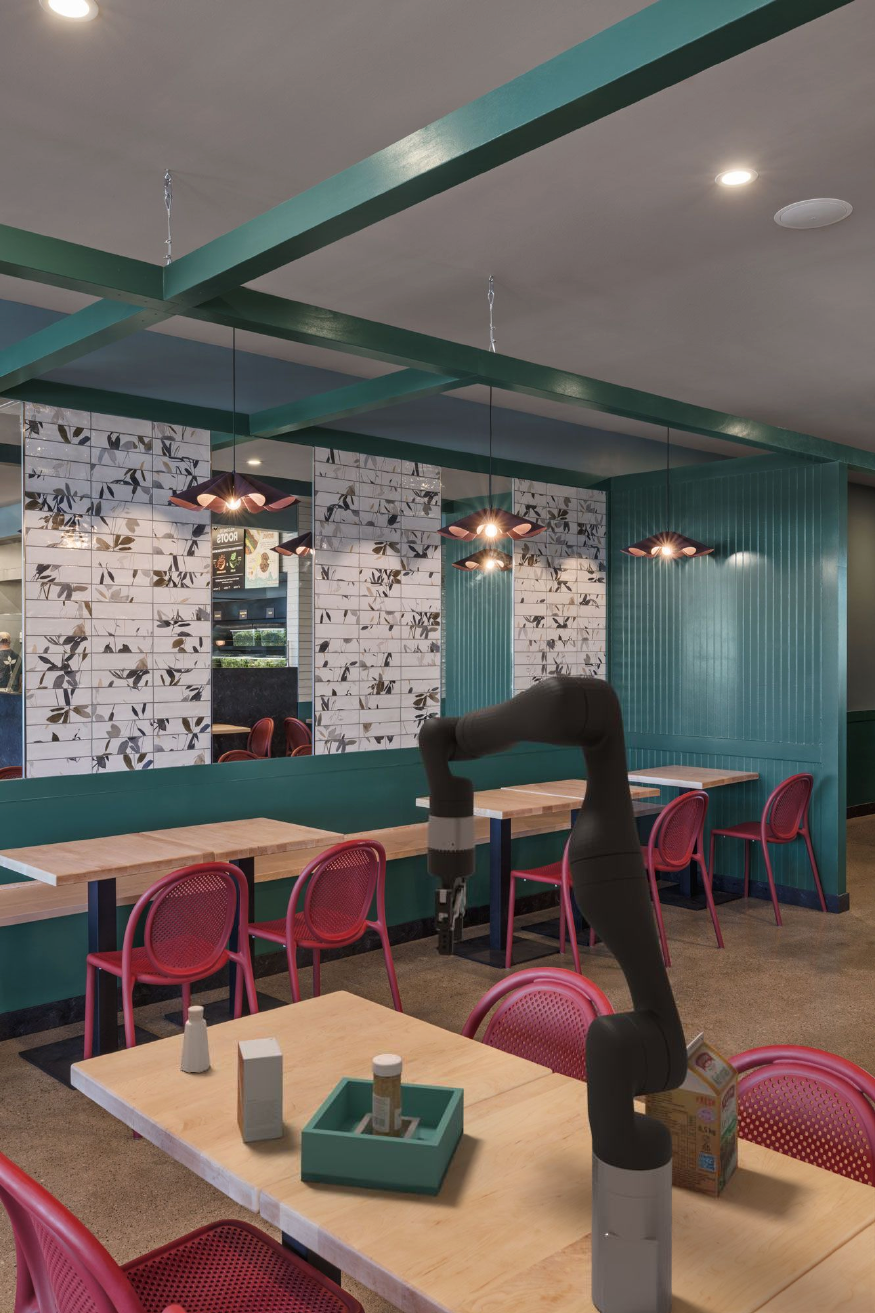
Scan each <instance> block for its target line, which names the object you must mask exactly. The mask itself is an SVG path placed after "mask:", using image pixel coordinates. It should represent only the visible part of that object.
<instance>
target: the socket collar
mask: <svg viewBox="0 0 875 1313" xmlns="http://www.w3.org/2000/svg"><path fill="white" fill-rule="evenodd" d="M354 1133H358V1134H368V1135H373V1113H366V1115H365V1117H364V1118H363V1120H362V1121H361V1123H360V1124H359V1126H358V1127H357V1129H356V1130H355V1132H354ZM420 1136H421V1118H414V1117H404V1116H401V1138H406V1139H415V1140H420Z"/></svg>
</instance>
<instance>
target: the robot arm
mask: <svg viewBox="0 0 875 1313" xmlns="http://www.w3.org/2000/svg"><path fill="white" fill-rule="evenodd" d="M417 739H418V740H417V743H418V749H419V753H420V757H421V761H422V763H423V767H424V768H423V769H424V771H425V776H426V782H427V784H428V790H429V792H428V793H429V794H428V795H429V796H428V797H429V798H428V799H429V801H428V802H429V804H428V806H429V807H428V809H429V810H428V812H429V813H428V814H429V816H428V825H427V844H426V845H427V848H426V849H427V852H426V854H427V862H426V864H427V869H426V870H427V873H428V874H429V875H430V876H431V877H437V878H439V879H440V884H439V886H437V887H436V889H435V890H434V923H433V927H434V929H435V930H437V931H438V932H437V933H438V934H437V935H438V936H437V937H438V938H437V939H438V941H437V944H438V948H437V950H438V954H439V956H452V955H453V953H454V942H461V941H462V940H463V936H464V935H463V934H464V933H463V932H464V927H463V926H464V916H465V913H466V909H467V877H471V876H473V875H474V874H475V873H476V825H475V815H474V814H475V813H474V811H475V810H474V805H475V803H474V802H475V800H474V799H475V798H474V797H475V790H474V789H475V788H474V784H473V781H472V780H471V779H470V778H467V777H464V776H461V775H455V774H453V773H452V771H451V769H450V766H449V763H451V762H467V761H474V760H480V759H482V758H484V757H486V756H490V755H496V754H499V753H504V752H507V751H509V750H512V749H514V748H515V747H516V746H518V745H519V743H521V742H526V743H527V742H529V743H530V742H531V743H536V744H537V743H538V744H547V745H552V746H555V747H563V748H565V747H567V748H568V747H569V748H574V747H575V748H581V750H582V754H583V759H584V767H585V776H586V783H585V784H586V785H585V786H586V787H585V792H584V797H583V801H582V804H581V806H580V809H579V812H578V815H577V817H576V820H575V821H574V825H573V827H572V831H571V834H570V838H569V841H568V845H567V858H568V865H569V871H570V876H571V882H572V889H573V895H574V899H575V903H576V905H577V908H578V910H579V911H580V913H581V915H582V917H583V918H584V920H585V921H586V922H587V923H588V925H589V926H590V928H591V929H592V930H593V931H594V933H595V934H596V935H597V936H598V938H599V939H600V941H601V942H602V943H603V944H604V945H605V947H606V948H607V949H608V951H609V952H610V953H611V954H612V956H613V957H614V959H615V960H616V962H617V963H618V965H619V967H620V968H621V971H622V973H623V975H624V978H625V981H626V983H627V986H628V990H629V994H630V997H631V1000H632V1006H633V1010H631V1011H630V1010H629V1011H623V1012H616V1013H609V1014H604V1015H603V1014H602V1015H600V1016H597V1017H595V1018H594V1019H593V1020H592V1021H591V1022H590V1024H589V1026H588V1029H587V1032H586V1036H585V1037H586V1038H585V1045H584V1046H585V1047H584V1050H585V1053H584V1054H585V1056H584V1058H585V1074H586V1075H585V1077H586V1097H587V1098H586V1100H587V1117H588V1118H587V1119H588V1122H589V1127H590V1134H591V1251H590V1252H591V1254H590V1256H591V1258H590V1259H591V1260H590V1261H591V1278H590V1279H591V1283H590V1286H591V1288H590V1289H591V1293H590V1294H591V1300H592V1303H593V1305H594V1306H595V1307H596V1308H597V1310H598V1311H599V1312H600V1313H670V1312H671V1309H672V1302H673V1301H672V1299H673V1298H672V1295H673V1294H672V1293H673V1290H672V1289H673V1287H672V1285H673V1284H672V1283H673V1282H672V1281H673V1268H672V1267H673V1265H672V1264H673V1260H672V1259H673V1257H672V1254H673V1251H672V1249H673V1248H672V1246H673V1245H672V1244H673V1242H672V1240H673V1219H672V1218H673V1186H672V1136H671V1133H670V1131H669V1129H668V1127H667V1126H666V1125H665V1124H663V1123H662V1122H661V1121H659V1120H657V1119H656V1118H654V1117H652V1116H649V1115H646V1114H645V1113H642V1112H638V1111H636V1110H635V1099H634V1098H636V1097H641V1096H642V1097H643V1096H645V1095H649V1094H655V1093H660V1092H666V1091H671V1090H674V1089H677V1088H679V1087H680V1086H681V1085H682V1084H683V1083H684V1081H685V1079H686V1075H687V1070H688V1054H687V1047H686V1046H687V1042H686V1041H687V1040H686V1037H685V1033H684V1029H683V1023H682V1021H681V1018H680V1014H679V1010H678V1007H677V1003H676V1000H675V997H674V993H673V990H672V986H671V983H670V979H669V976H668V971H667V968H666V965H665V960H664V956H663V953H662V949H661V944H660V940H659V935H658V932H657V931H658V929H657V925H656V921H655V920H656V919H655V915H654V910H653V904H652V901H651V900H652V899H651V892H650V887H649V880H648V875H647V874H648V873H647V870H646V869H647V868H646V865H645V859H644V855H643V854H644V853H643V849H642V846H641V842H640V838H639V833H638V828H637V822H636V816H635V810H634V806H633V799H632V793H631V789H630V780H629V772H628V762H627V751H626V741H625V730H624V720H623V712H622V708H621V704H620V700H619V697H618V694H617V692H616V690H615V689H614V687H613V686H612V685H611V684H610V682H608V681H607V680H605V679H602V678H597V677H589V676H588V677H582V676H571V675H570V676H569V675H556V676H551V677H547V678H545V679H543V680H541V681H538V682H537V683H535V684H534V685H532V686H530V687H529V688H527V689H525V690H523V691H522V692H521V693H519V694H517V695H515V696H513V697H511V698H509V699H508V700H505V701H503V702H501V703H496V704H492V705H489V706H485V707H481V708H476V709H474V710H471V711H469V712H467V713H465V714H463V715H462V716H437V717H436V716H435V717H430V718H428V719H426V720H425V721H423V724H422V725H421V727H420V728H419V733H418V738H417ZM443 918H447V920H443Z"/></svg>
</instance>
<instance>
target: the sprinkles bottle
mask: <svg viewBox="0 0 875 1313" xmlns="http://www.w3.org/2000/svg"><path fill="white" fill-rule="evenodd" d="M371 1064H372V1065H371V1066H372V1067H371V1069H372V1070H371V1071H372V1076H373V1079H372V1080H373V1135H377V1136H387V1137H396V1138H401V1083H402V1073H403V1059H402V1057H400V1056H399V1055H397V1054H393V1053H384V1054H382V1053H381V1054H378V1055H376V1056H374V1057H373V1059H372V1062H371Z"/></svg>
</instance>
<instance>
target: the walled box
mask: <svg viewBox="0 0 875 1313" xmlns="http://www.w3.org/2000/svg"><path fill="white" fill-rule="evenodd" d="M464 1091H465V1090H464V1088H463V1087H462V1088H461V1087H451V1086H442V1085H441V1086H440V1085H429V1084H418V1083H409V1082H401V1116H404V1117H414V1118H421V1136H420V1140H415V1139H406V1138H396V1137H387V1136H377V1135H368V1134H358V1133H354V1132H355V1130H356V1129H357V1127H358V1126H359V1124H360V1123H361V1121H362V1120H363V1118H364V1117H365V1115H366V1113H373V1079H368V1078H366V1079H365V1078H355V1077H344V1076H343V1077H342V1078H341V1080H340V1081H339V1082H338V1083H337V1085H336V1086H335V1087H334V1088H333V1090H331V1092H330V1093H329V1095H328V1096H327V1097H326V1099H325V1100H324V1102H322V1104H321V1105H320V1106H319V1108H318V1109H317V1111H316V1112H315V1113H314V1114H313V1115H312V1117H311V1118H310V1119H309V1121H308V1122H307V1123H306V1125H305V1126H304V1127H303V1129H302V1130H301V1132H300V1133H301V1135H300V1136H301V1137H300V1138H301V1139H300V1141H301V1143H300V1145H301V1146H300V1181H302V1182H309V1183H310V1182H311V1183H319V1184H327V1185H328V1184H329V1185H336V1186H345V1187H353V1188H354V1187H355V1188H362V1189H372V1190H379V1191H387V1192H396V1193H404V1194H405V1193H406V1194H407V1193H408V1194H413V1195H421V1196H422V1195H423V1196H430V1197H438V1195H439V1193H440V1191H441V1188H442V1185H443V1183H444V1180H445V1179H446V1177H447V1174H448V1171H449V1169H450V1167H451V1164H452V1162H453V1159H454V1157H455V1156H456V1155H455V1154H456V1152H457V1150H458V1148H459V1146H460V1142H461V1140H462V1138H463V1135H464V1120H465V1119H464V1110H465V1108H464V1107H465V1106H464V1105H465V1104H464V1103H465V1100H464V1099H465V1098H464V1096H465V1092H464Z"/></svg>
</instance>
